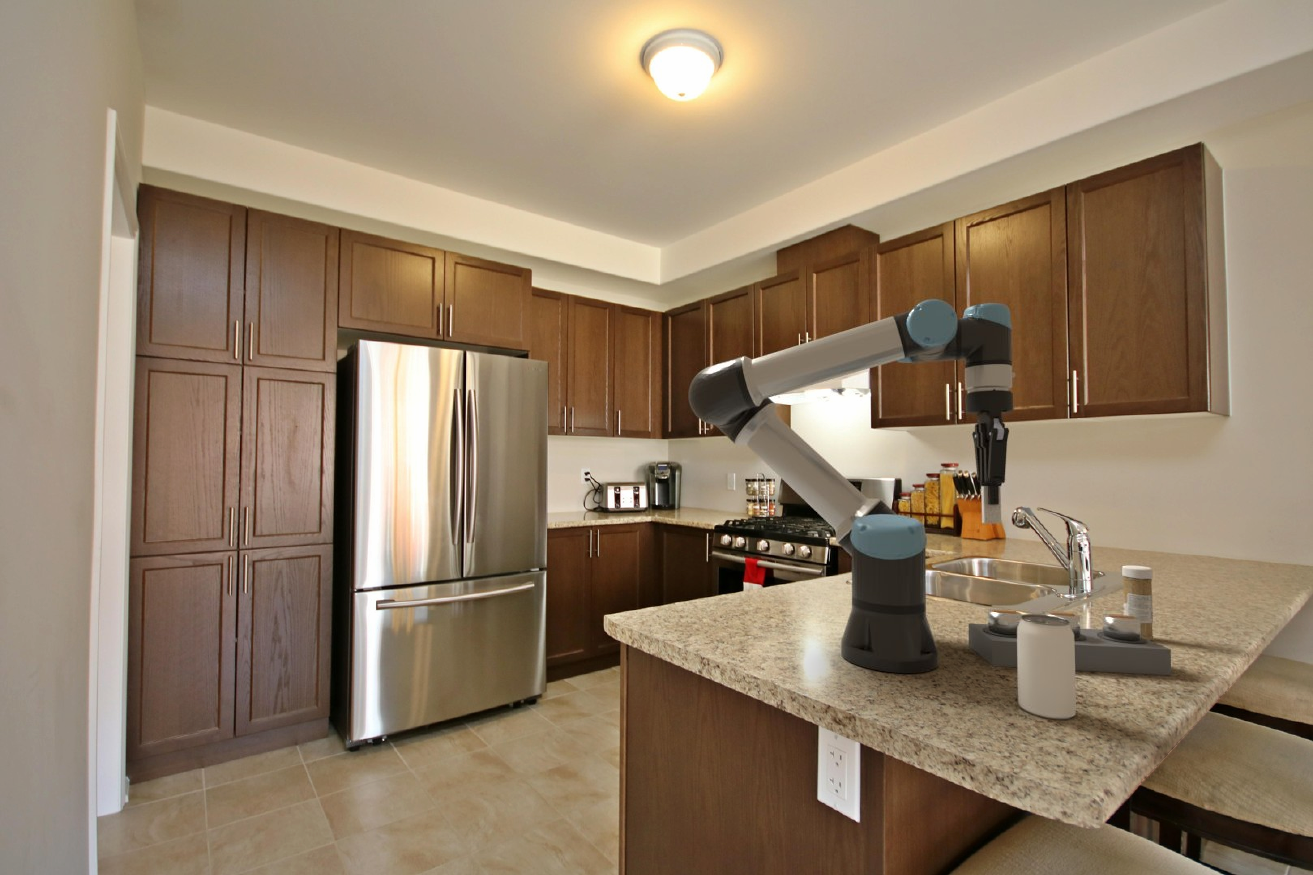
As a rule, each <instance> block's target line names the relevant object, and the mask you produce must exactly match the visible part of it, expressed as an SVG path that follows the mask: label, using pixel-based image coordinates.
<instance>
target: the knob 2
mask: <svg viewBox="0 0 1313 875" xmlns="http://www.w3.org/2000/svg"><path fill="white" fill-rule="evenodd" d="M1102 629H1103V634H1104V635H1106V636H1109V637H1113V638H1118V639H1124V640H1140V639H1141V632H1140V619H1138V618H1136V617H1134V616H1127V615H1124V614H1119V613H1103V614H1102Z"/></svg>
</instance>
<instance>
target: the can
mask: <svg viewBox="0 0 1313 875" xmlns="http://www.w3.org/2000/svg"><path fill="white" fill-rule="evenodd" d="M1069 624H1070V621H1068V620H1066V619H1063V618H1060V617H1055V616H1049V615H1045V614H1039V613H1038V614H1037V613H1026V614H1022V615H1021V621H1020V623H1019V625H1018V627H1017V667H1016V668H1017V702H1018V706H1020V708H1021V709H1022V710H1024V711H1025V712H1026V713H1028V714H1030V715H1033V716H1036V717H1040V718H1044V719H1050V720H1055V721H1056V720H1058V721H1059V720H1060V721H1061V720H1062V721H1063V720H1070V719H1072V718H1073V717H1074V716H1075V715H1076V714H1077V712H1076V711H1077V710H1076V709H1077V708H1076V707H1077V706H1076V702H1077V701H1076V699H1077V698H1076V670H1075V644H1074V634H1073V631H1072V630H1071V628H1070V625H1069Z"/></svg>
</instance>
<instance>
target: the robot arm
mask: <svg viewBox="0 0 1313 875" xmlns="http://www.w3.org/2000/svg"><path fill="white" fill-rule="evenodd" d="M1012 332H1013V326H1012V318H1011V310H1010V308H1009V307H1008V305H1006V304H1005V303H996V302H990V303H988V302H987V303H982V304H975V305H972V306H969V307H967V308H966V309H964V312H963V316H962V318H961V317H960V318H958V314H957V313H956V311H955V309H954V308H953V306H952V305H950V303H948V302H946V301H944V300H941V299H937V298H936V299H935V298H932V299H926V300H923V301H921V302H919V303H918V304H916V305H915V306H914V307H912V309H911V310H908V311H905V312H901V313H898V314H896V315H893V316H888V317H886V318H882V319H880V320H876V321H873V322H869V323H866V324H862V325H860V326H856V327H853V328H851V329H847V330H844V331H840V332H837V333H834V334H830V335H827V336H824V337H820V338H817V339H814V340H811V341H808V342H804V343H801V344H799V345H794V346H791V347H789V348H785V349H783V350H778V351H776V352H772V353H769V354H765V355H762V356H759V357H756V358H750V357H748V356H746V355H744V356H740V357H737V358H733V359H731V360H727V361H723V362H719V363H717V364H713V365H711V366H708V367H706V368H703V369H702V370H701V371H699V372H698V373H697V374H696V375H695V377H694V378H693V379H692V381H691V383H690V385H689V389H688V403H689V405H690V408H691V410H692V412H693V413H694V415H695V416H696V417H697V418H698V419H700V420H701V421H702V422H704V423H706V424H709V425H713V426H715V427H717V428H718V430H720V431H721V432H722V433H723V434H724V435H725V436H726V437H727V439H729V440H730V441H731V442H732V443H733V444H734V445H736V446H747V447H748V448H749V449H750V450H751V451H752V452H753V453H754V454H756V455H757V456H758V458H760V459H761V461H763V463H765V464H766V465H767V466H768V467H769V468H770V469H771V470H772V471H773V472H775V474H776V475H778V477H780V478H781V480H783V481H784V482H785V484H787V486H789V487H790V488H791V489H792V490H793V491H794V492H795V493H796V494H797V495H798V496H800V498H801V499H802V500H803V501H804V502H806V504H808V505H809V506H810V507H811V508H812V509H813V510H814V511H815V512H817V514H818V515H819V516H820V517H821V518H823V520H824V521H826V523H827V524H829V525H830V526H831V527H832V528H833V529H834V531H835V542H836V543H837V544H839V546H840V547H841V548H843V550H844V551H846V553H848V554H849V555H850V557H851V610H850V614H849V616H848V619H847V622H846V625H845V628H844V631H843V635H842V638H841V642H840V652H841V653H840V654H841V656H842V658H844V659H845V660H846V661H848V662H849V663H852V664H854V665H856V666H860V667H863V668H866V669H870V670H875V671H881V672H888V673H897V674H917V673H926V672H929V671H933V670H935V669H936V668H937V667H938V666H939V650H938V647H937V643H936V641H935V637H934V634H933V632H932V630H931V626H930V622H929V620H928V618H927V584H926V583H927V582H926V581H927V580H926V578H927V576H926V574H927V571H926V569H927V568H926V567H927V566H926V565H927V564H926V562H927V560H926V558H927V557H926V555H927V554H926V546H927V542H928V539H927V535H926V529H925V528H926V527H925V525H924V524H923V523H922V521H920V520H918V519H917V518H914V517H910V516H906V515H901V514H897V513H896V512H895V511H894V510H893V509H892V508H891V507H890V506H888V505H887V504H886V503H885V502H884V501H883V500H881V499H880V498H869V497H866V496H865V495H864V494H863V493H862V492H861V491H860V490H859V489H858V488H857V487H856V486H854V485H853V484H852V483H851V482H850V481H849V480H848V479H847V478H846V477H845V476H843V474H841V472H839V471H838V470H837V469H836V468H835V467H834V466H833V465H832V464H830V462H828V461H827V460H826V459H825V458H824V457H823V456H821V454H820V453H818V452H817V451H816V450H815V449H814V448H813V447H812V446H810V444H809V443H807V441H805V439H803V438H802V437H801V436H800V435H799V434H798V433H797V432H796V431H795V430H794V429H792V428H791V427H790V426H789V425H788V424H787V423H786V422H784V420H782V418H780V417H779V416H778V415H777V404H776V403H775V402H774V401H773V400H772V399H771V398H772V397H776V396H779V395H783V394H785V393H789V392H792V391H795V390H800V389H802V388H803V389H804V388H806V387H809V386H810V387H811V386H813V385H817V384H819V383H823V382H828V381H830V380H835V379H837V378H841V377H844V376H848V375H851V374H855V373H857V372H861V371H865V370H867V369H872V368H875V367H878V366H882V365H885V364H890V363H893V362H896V361H897V362H898V363H902V364H911V363H912V364H917V363H929V362H932V363H933V362H949V361H964V390H965V391H967V392H968V393H966V395H965V412H966V413H967V414H968V415H969V414H970V415H977V420H976V421H977V422H976V424H974V431H972V435H971V436H972V439H973V443H974V444H973V445H974V456H975V466H976V481H977V482H978V483H979V485H980V488H981V491H980V492H981V523H982V524H994V525H995V524H1000V525H1001V524H1002V504H1001V502H1002V501H1001V500H1002V497H1001V487H1002V484H1004V483H1005V482H1006V467H1007V465H1006V464H1007V453H1008V452H1007V449H1008V440H1009V434H1010V430H1009V428H1008V427H1006V424H1005V423H1004V418H1003V415H1002V414H1009V413H1012V412H1013V411H1014V393H1013V391H1010V389H1012V388H1013V378H1015V377H1016V372H1013V333H1012Z"/></svg>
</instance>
